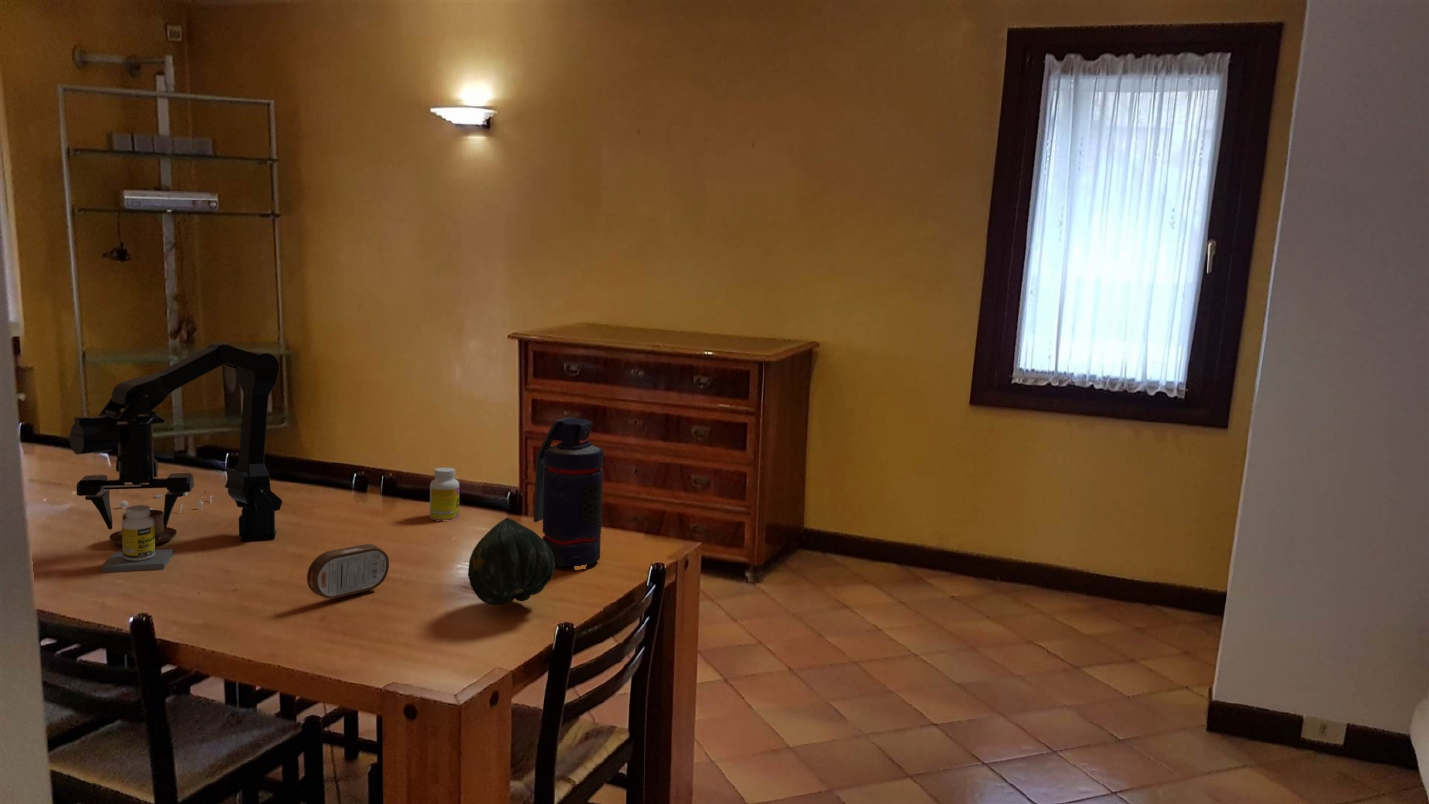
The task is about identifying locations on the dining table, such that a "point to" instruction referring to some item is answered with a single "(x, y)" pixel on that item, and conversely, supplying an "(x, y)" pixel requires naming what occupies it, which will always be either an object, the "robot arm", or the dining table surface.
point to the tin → (347, 571)
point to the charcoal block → (138, 562)
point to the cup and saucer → (160, 530)
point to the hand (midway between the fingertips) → (138, 527)
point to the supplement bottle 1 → (138, 534)
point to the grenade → (570, 492)
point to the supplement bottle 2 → (444, 495)
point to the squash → (510, 564)
